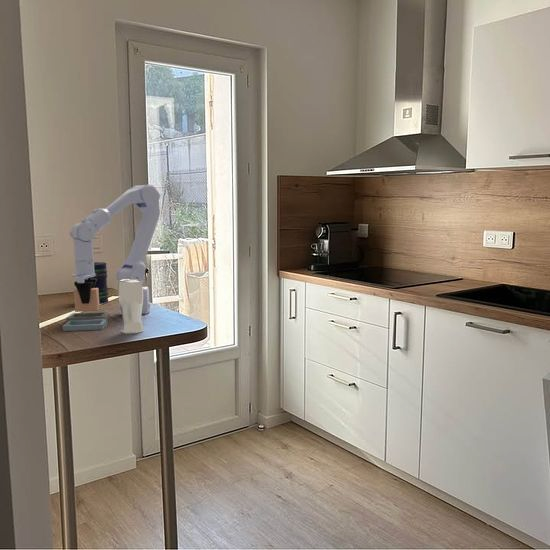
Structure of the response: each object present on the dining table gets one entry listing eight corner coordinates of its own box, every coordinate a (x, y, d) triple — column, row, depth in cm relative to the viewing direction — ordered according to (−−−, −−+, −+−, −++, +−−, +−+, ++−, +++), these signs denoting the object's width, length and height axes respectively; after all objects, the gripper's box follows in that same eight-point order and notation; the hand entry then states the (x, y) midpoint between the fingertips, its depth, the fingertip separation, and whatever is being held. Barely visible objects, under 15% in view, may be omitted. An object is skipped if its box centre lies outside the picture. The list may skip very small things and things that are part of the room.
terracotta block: (99, 309, 183) (98, 287, 182) (97, 311, 180) (96, 289, 179) (77, 309, 182) (76, 288, 181) (75, 311, 179) (73, 290, 178)
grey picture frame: (107, 323, 174) (107, 319, 173) (102, 329, 166) (102, 324, 166) (69, 325, 172) (69, 320, 172) (62, 331, 164) (62, 326, 164)
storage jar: (101, 304, 208) (99, 265, 206) (76, 304, 210) (74, 265, 208) (113, 300, 218) (111, 262, 216) (89, 300, 219) (87, 262, 218)
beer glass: (135, 327, 167) (132, 278, 165) (149, 330, 163) (147, 280, 161) (115, 332, 162) (112, 281, 160) (129, 335, 158) (127, 282, 156)
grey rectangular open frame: (108, 316, 186) (108, 311, 186) (103, 321, 178) (103, 316, 178) (72, 317, 184) (72, 313, 184) (66, 322, 177) (66, 317, 176)
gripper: (76, 258, 185) (79, 298, 187) (65, 263, 171) (68, 306, 173) (98, 258, 186) (101, 298, 188) (89, 262, 172) (92, 305, 174)
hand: (87, 302), depth 181 cm, fingers closed on terracotta block, 3 cm apart
